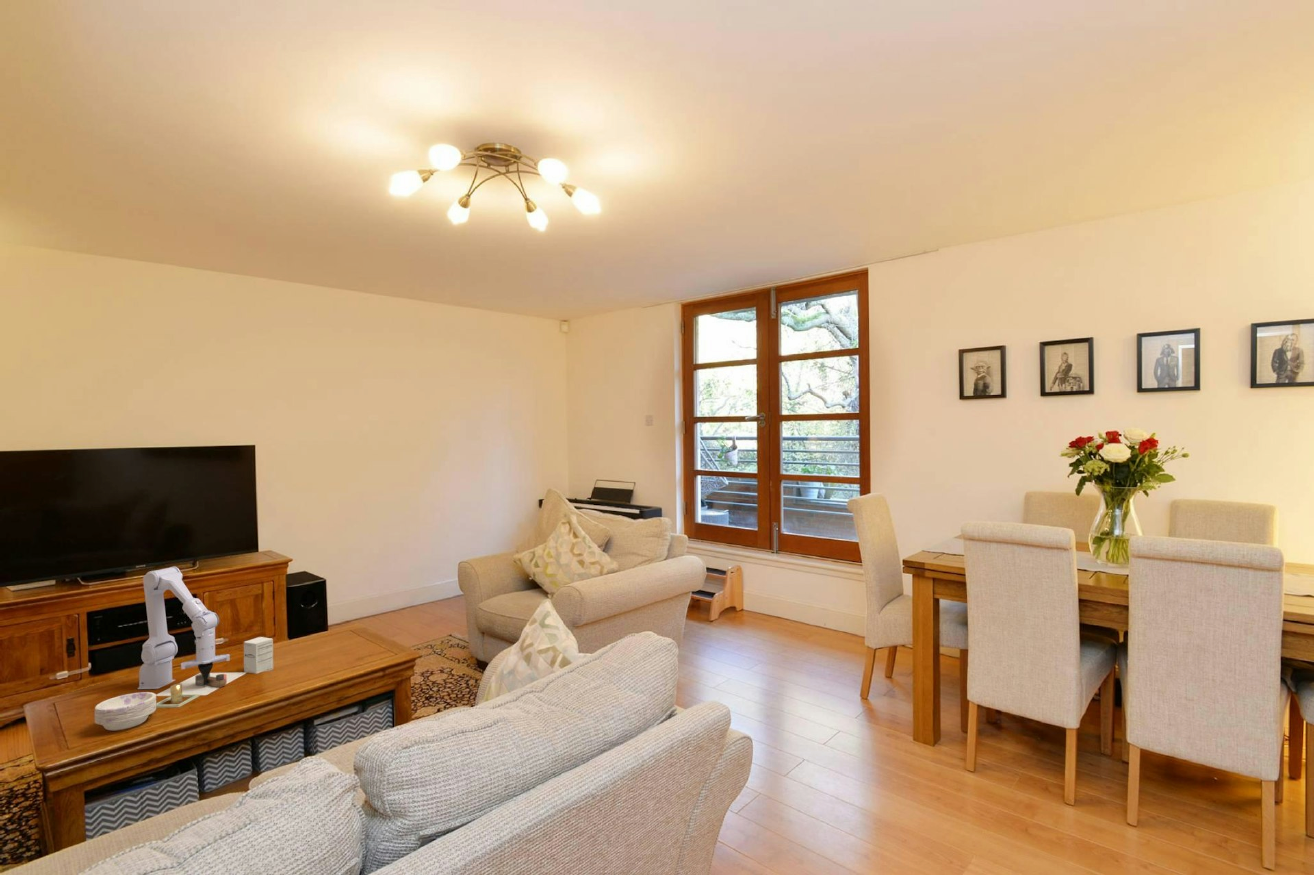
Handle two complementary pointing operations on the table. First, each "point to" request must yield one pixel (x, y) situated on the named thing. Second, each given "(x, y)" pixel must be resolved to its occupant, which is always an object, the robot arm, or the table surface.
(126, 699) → the paper bowls
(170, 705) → the tray
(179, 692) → the pin
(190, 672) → the table surface
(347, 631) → the table surface
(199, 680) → the crank
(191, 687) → the board
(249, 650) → the supplement box
